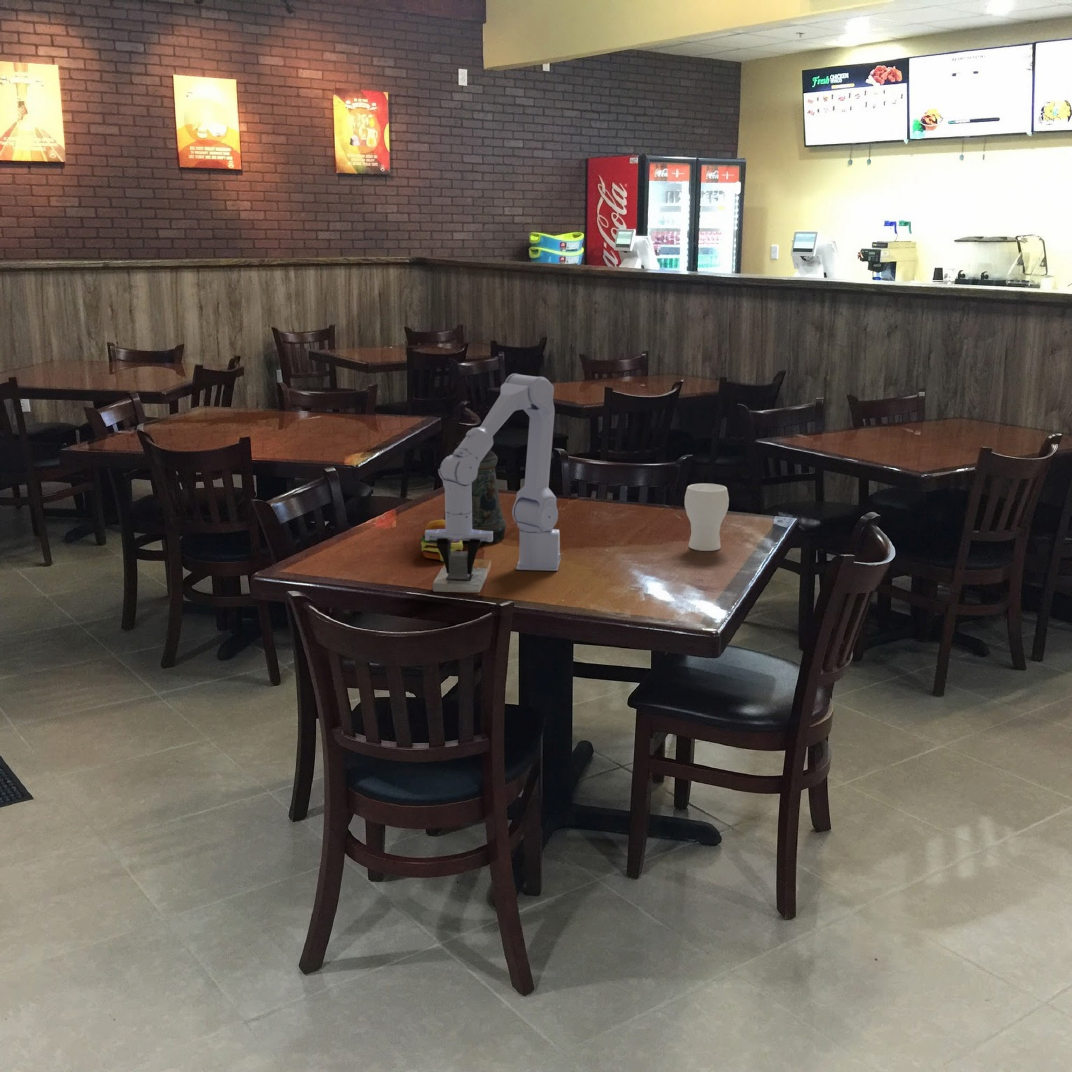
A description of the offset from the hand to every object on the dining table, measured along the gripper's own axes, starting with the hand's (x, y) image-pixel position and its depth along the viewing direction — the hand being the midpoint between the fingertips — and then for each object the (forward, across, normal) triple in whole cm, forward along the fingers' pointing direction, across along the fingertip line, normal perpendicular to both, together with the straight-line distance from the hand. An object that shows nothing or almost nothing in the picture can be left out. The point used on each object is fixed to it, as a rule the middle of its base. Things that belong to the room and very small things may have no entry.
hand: (459, 572), depth 245 cm
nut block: (+2, 0, 0) cm, 2 cm away
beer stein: (+3, -4, +42) cm, 43 cm away
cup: (+3, +55, +38) cm, 67 cm away
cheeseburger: (+3, -8, +23) cm, 25 cm away
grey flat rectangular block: (+3, 0, +5) cm, 6 cm away
